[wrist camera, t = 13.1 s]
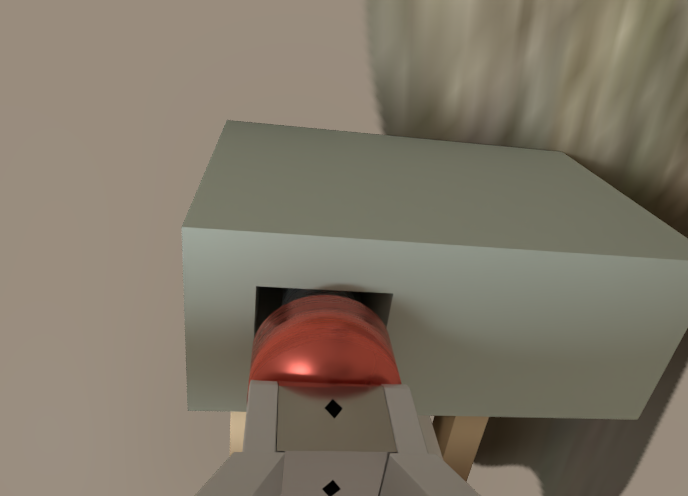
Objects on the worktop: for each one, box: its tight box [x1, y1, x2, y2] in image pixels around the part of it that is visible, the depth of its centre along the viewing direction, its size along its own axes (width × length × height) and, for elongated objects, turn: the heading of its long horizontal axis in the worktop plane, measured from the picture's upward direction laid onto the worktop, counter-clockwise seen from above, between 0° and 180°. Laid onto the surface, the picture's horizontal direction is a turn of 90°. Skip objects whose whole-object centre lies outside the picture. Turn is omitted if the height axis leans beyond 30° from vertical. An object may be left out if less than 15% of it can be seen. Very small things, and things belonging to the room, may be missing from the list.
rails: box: [230, 412, 489, 481], centre depth 24 cm, size 17×11×2 cm, turn 173°
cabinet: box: [182, 120, 688, 420], centre depth 16 cm, size 5×12×8 cm, turn 83°
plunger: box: [247, 288, 402, 401], centre depth 13 cm, size 3×3×8 cm
